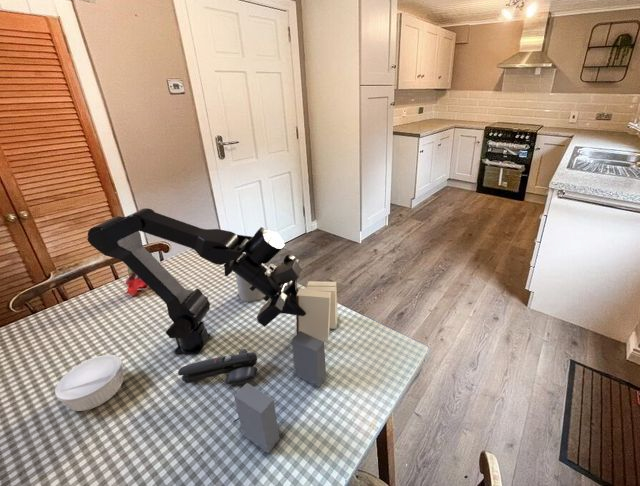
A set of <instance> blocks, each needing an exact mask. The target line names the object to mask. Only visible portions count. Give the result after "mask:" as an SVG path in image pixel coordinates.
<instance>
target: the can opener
mask: <svg viewBox="0 0 640 486" xmlns="http://www.w3.org/2000/svg"><path fill="white" fill-rule="evenodd" d="M257 363H258V354H257V353H256V352H254V351H249V352H248V350H247V349H246V348H240V349H239V351H238V353H237V354H228V355H222V356H218V357H212V358H207V359H203V360H200V361H196V362H192V363H190V364H189V363H188V364H186V365H184V366H182V367H180V368H179V369H178V371H177V374H178V376H182V377H181V380H182V382H185V383H187V382H192V381H193V382H194V381H199V380H205V379H208V378H212V377H216V376H220V375H224V374H226V376H225V377H226V385H228V386H229V385H231V386H237V385H242V384H246V383H249V382H251V381H253V380H254V379H256V377H257V374H258V371H259V368H258V367H256V366H255V365H256V364H257Z"/></svg>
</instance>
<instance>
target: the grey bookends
mask: <svg viewBox="0 0 640 486" xmlns="http://www.w3.org/2000/svg"><path fill="white" fill-rule="evenodd" d="M291 349H292V355H293V356H292V358H293V366H294V375H295V376H296V377H299V378H301V379H302V380H304V381H305V382H307V383H310V384H311V385H312V386H315V387H316V388H320V387H321V385H322V384H323V383H324V382H325V380H326V379H327V367H326V366H327V364H326V363H327V362H326V348H325V342H323V341H321V340H319V339H316V338H314V337H312V336H310V335H308V334H306V333H303V332H301V331H300V332H298V333H297V334H295V335H294V336H293V337H292V338H291ZM233 399H234V402H235V406H236V412H237V416H238V420H239V425H240V430H241V435H242V436H244V437H245V438H246V439H248V440H249V441H250V442H251V443H253V444H254V445H256V446H257V447H259V448H260V449H261V450H262V451H263V452H266V453H267V454H270V452H271V451H272V450H273V448H274V447H275V446H276V444H277V443H278V441H279V440H280V433H279V426H278V419H277V411H276V406H275V399H274V398H272V397H271V396H269V395H267V394H266V393H264V392H263V391H261V390H259V389H257V388H256V387H255V386H252V385H251V384H249V382H246V383H244V385H243V386H242V387H240V389H239V390H238V391H237V392H236V393H235V394H234V395H233Z"/></svg>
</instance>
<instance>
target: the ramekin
mask: <svg viewBox="0 0 640 486" xmlns="http://www.w3.org/2000/svg"><path fill="white" fill-rule="evenodd" d="M123 363H124V362H123V360H122V358H121V357H120V356H118V355H116V354H103V355H98V356H95V357H92V358H90V359H87V360H84V361H82V362H80V363H79V364H77V365H76V366H74V367H73V368H71V369H70V370H69V371H68V372H67V373H65V375H64V376H62V378H61V379H60V380H59V382H58V383H57V385H56V387H55V389H54V396H55V397H56V399H57V400H58V401H59V402H61V403H63V404H64V405H65V406H66V407H67V408H69V409H70V410H72V411H74V412H83V411H89V410H92V409H94V408H97V407H99V406H101V405H103V404H104V403H106V402H107V401H109V400H110V399H112V398H113V397H114V396H115V395H116V394H117V393H118V391H119V390H120V389H121V388H122V385H123V382H124V379H125V377H124V376H125V375H124V369H123V368H124V364H123Z"/></svg>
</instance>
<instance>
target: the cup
mask: <svg viewBox="0 0 640 486" xmlns="http://www.w3.org/2000/svg"><path fill="white" fill-rule="evenodd" d="M234 275H235V279H236V284H237V286H236V287H237V291H238V295H239V299H240V301H243V302H246V303H249V302H250V303H251V302H256V301H259V300H260V299H263V298H264V296H265V295H264V294H262V293H261V292H260V291H258V290H257V289H255V290H253V291H252V290H250V289H249V288H250V287H251V285H250V284H249V283H248V282H247V281H245V280H244V279H243V278H241V277H240V276H239V275H237V274H236V273H235V272H234Z"/></svg>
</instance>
